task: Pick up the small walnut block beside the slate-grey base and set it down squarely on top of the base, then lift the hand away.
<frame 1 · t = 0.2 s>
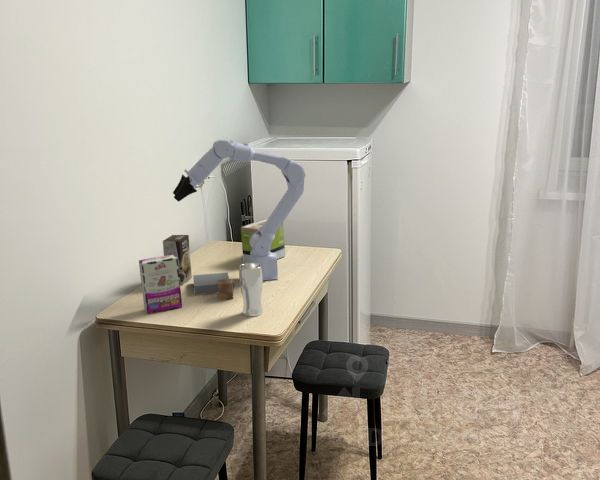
hand: (175, 197, 197), 31 cm above the table, tool tilted 45°, fingers open, 7 cm apart
walnut block: (225, 297, 193), on the table
slate base: (211, 287, 202), on the table
tea box: (264, 260, 233), on the table
candy bar box: (163, 309, 184), on the table
coffee box: (179, 281, 210), on the table
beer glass: (252, 313, 179), on the table
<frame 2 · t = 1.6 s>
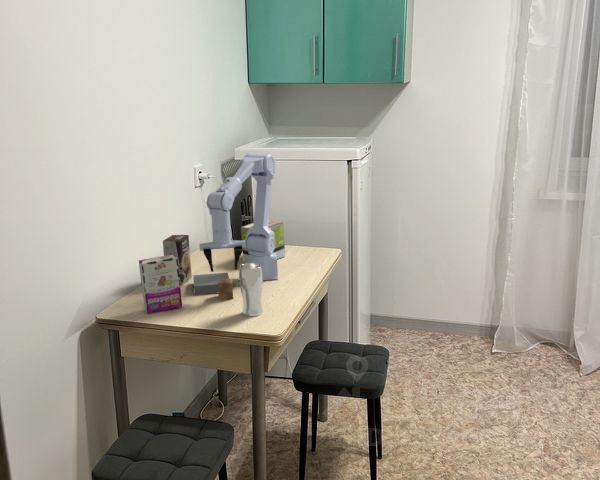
hand: (224, 270, 190), 9 cm above the table, tool pointing down, fingers open, 7 cm apart
nothing on the table moved.
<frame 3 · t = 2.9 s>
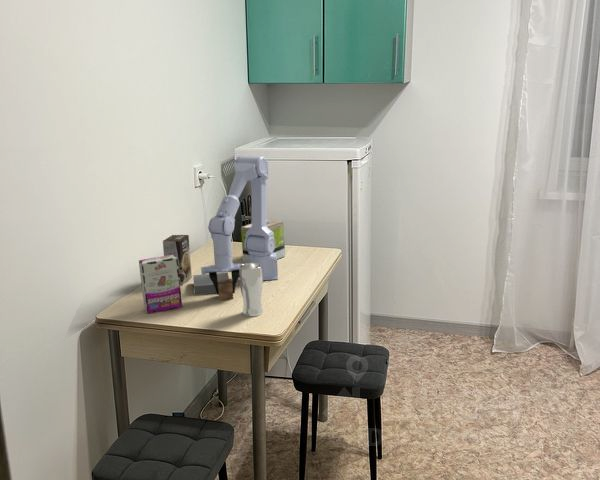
hand: (225, 293, 192), 1 cm above the table, tool pointing down, fingers closed on walnut block, 4 cm apart
walnut block: (225, 297, 193), on the table, touching gripper
everything else where it was.
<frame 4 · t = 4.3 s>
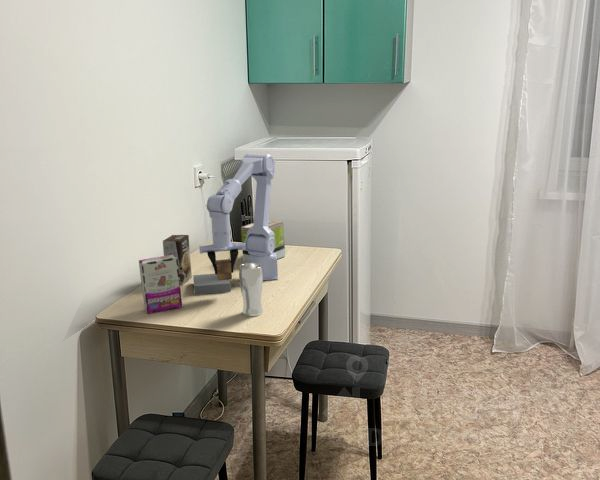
hand: (224, 272, 191), 8 cm above the table, tool pointing down, fingers closed on walnut block, 4 cm apart
walnut block: (224, 277, 191), point 7 cm above the table, touching gripper
everything else where it was.
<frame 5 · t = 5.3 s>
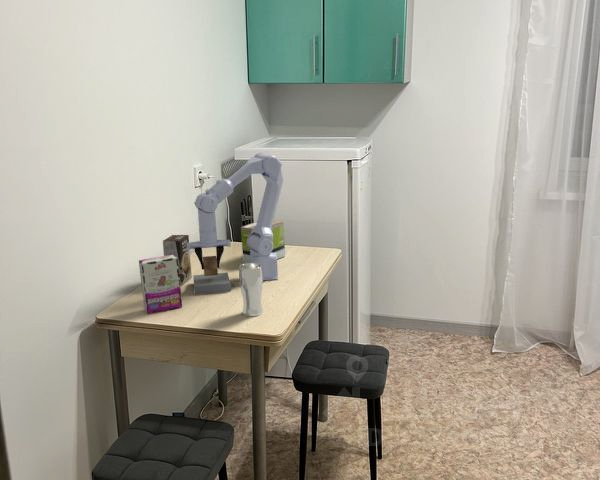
hand: (210, 268, 201), 7 cm above the table, tool pointing down, fingers closed on walnut block, 4 cm apart
walnut block: (210, 273, 201), point 5 cm above the table, touching gripper
everything else where it was.
when the fingers open (5 cm above the table, at t = 6.0 s): walnut block stays where it is, resting on slate base.
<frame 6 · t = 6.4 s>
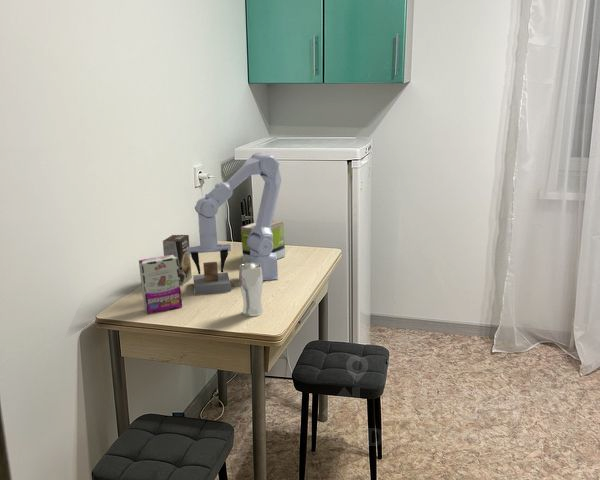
hand: (210, 272, 201), 5 cm above the table, tool pointing down, fingers open, 7 cm apart
walnut block: (211, 279, 201), point 3 cm above the table, touching slate base
everything else where it was.
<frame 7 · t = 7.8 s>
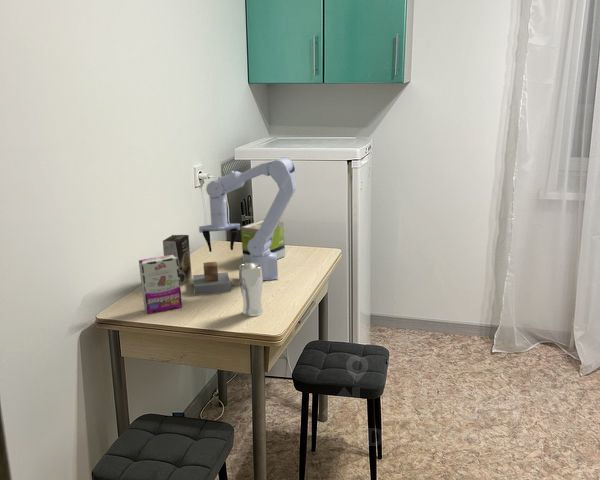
hand: (221, 250, 213), 9 cm above the table, tool pointing down, fingers open, 7 cm apart
nothing on the table moved.
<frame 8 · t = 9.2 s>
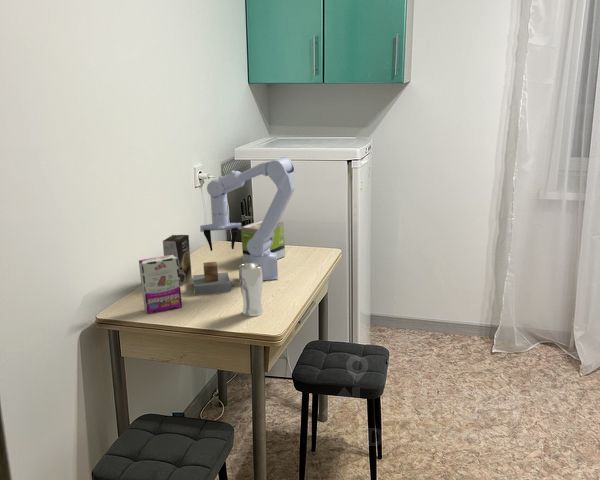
hand: (222, 249, 214), 9 cm above the table, tool pointing down, fingers open, 7 cm apart
nothing on the table moved.
at the end: walnut block 0.4 cm off-centre on the slate base, point 3.0 cm above the slate base's base; walnut block tilted 0°; the gripper is holding nothing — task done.
